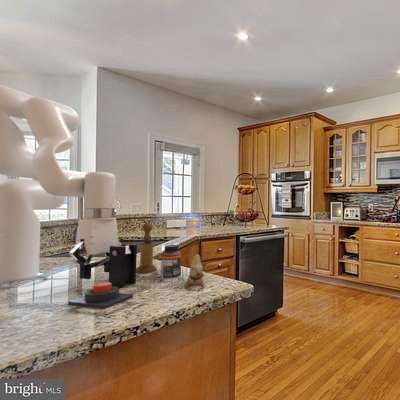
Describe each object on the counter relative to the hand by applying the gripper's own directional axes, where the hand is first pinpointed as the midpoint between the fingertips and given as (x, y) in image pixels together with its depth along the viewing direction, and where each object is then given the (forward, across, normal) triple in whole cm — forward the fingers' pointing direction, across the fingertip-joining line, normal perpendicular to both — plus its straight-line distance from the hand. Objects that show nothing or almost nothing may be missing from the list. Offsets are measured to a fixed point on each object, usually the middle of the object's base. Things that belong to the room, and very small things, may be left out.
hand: (97, 274), depth 82 cm
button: (0, +12, +15) cm, 19 cm away
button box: (+4, +12, +15) cm, 19 cm away
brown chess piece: (+4, -16, +3) cm, 17 cm away
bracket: (+4, 0, +9) cm, 9 cm away
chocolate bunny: (+4, -8, +27) cm, 28 cm away
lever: (-4, 0, +5) cm, 6 cm away
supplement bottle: (+4, -13, +15) cm, 20 cm away
